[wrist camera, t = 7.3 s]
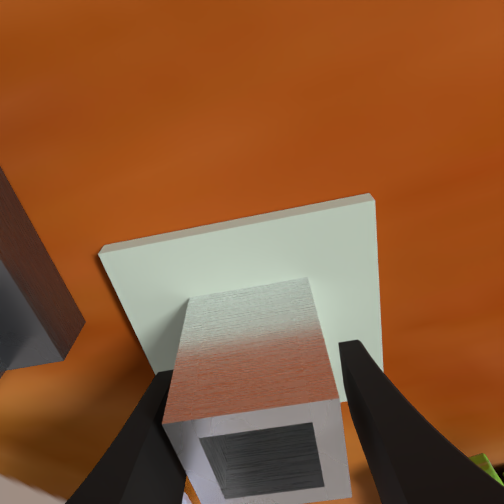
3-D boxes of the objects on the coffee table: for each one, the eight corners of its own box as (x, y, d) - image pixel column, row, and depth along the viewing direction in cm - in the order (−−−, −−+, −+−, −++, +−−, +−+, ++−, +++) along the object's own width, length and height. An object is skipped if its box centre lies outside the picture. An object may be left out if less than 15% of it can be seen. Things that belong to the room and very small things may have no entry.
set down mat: (380, 384, 16) (384, 395, 16) (181, 414, 17) (179, 426, 17) (369, 193, 12) (374, 199, 12) (104, 245, 13) (97, 253, 12)
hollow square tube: (326, 397, 16) (356, 532, 12) (229, 411, 16) (223, 547, 12) (307, 277, 13) (339, 397, 9) (189, 297, 13) (161, 424, 9)
